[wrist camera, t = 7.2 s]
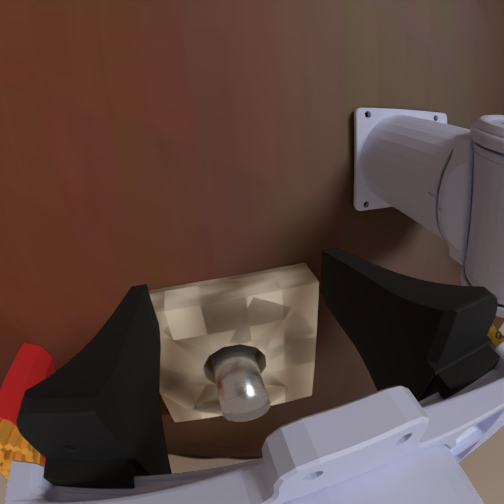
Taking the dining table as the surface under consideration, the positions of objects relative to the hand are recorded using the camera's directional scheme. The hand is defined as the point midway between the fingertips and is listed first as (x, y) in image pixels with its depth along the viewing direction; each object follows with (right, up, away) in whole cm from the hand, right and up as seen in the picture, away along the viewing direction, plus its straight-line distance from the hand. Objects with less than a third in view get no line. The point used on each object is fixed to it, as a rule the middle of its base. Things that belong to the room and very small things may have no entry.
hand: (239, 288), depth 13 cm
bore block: (-1, -7, +15) cm, 17 cm away
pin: (-1, -7, +15) cm, 16 cm away
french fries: (-21, -10, +13) cm, 26 cm away
